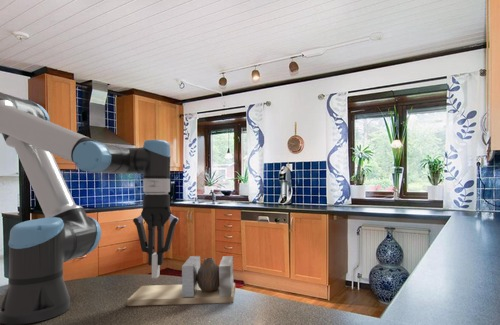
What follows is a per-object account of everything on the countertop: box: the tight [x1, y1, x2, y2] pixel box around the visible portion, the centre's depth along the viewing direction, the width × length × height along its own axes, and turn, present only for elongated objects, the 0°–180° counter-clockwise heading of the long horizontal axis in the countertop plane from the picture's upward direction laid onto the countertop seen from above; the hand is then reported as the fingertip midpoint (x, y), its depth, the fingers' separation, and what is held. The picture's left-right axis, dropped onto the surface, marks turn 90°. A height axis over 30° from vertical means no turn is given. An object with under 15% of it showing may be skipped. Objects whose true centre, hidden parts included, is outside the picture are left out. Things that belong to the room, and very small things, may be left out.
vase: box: [197, 257, 219, 292], centre depth 93 cm, size 7×7×9 cm
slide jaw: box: [181, 255, 201, 297], centre depth 93 cm, size 3×12×8 cm, turn 0°
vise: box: [126, 255, 236, 307], centre depth 93 cm, size 28×12×10 cm, turn 90°
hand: (155, 276), depth 93 cm, fingers closed
